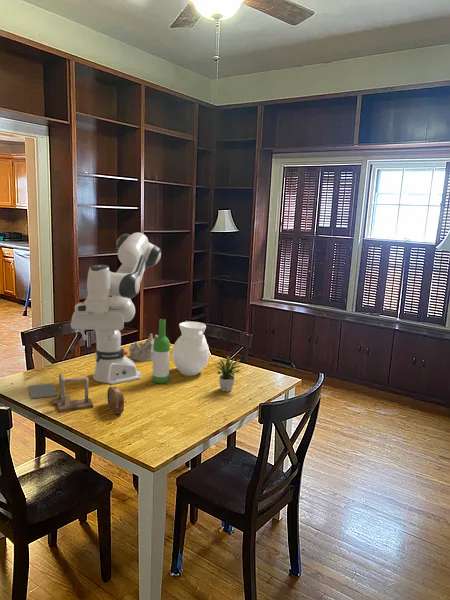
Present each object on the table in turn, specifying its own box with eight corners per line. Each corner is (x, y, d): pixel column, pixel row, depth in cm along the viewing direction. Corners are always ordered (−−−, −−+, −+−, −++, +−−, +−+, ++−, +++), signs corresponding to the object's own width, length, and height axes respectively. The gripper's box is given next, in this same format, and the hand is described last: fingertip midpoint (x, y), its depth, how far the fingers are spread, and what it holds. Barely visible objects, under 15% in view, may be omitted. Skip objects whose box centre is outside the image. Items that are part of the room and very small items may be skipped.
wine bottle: (171, 380, 216) (174, 319, 211) (163, 385, 209) (165, 322, 204) (158, 376, 219) (159, 317, 214) (149, 381, 212) (150, 320, 207)
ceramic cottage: (165, 355, 253) (164, 329, 251) (149, 364, 239) (148, 336, 236) (142, 352, 260) (141, 326, 257) (125, 360, 245) (123, 334, 242)
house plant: (225, 399, 197) (228, 364, 194) (203, 390, 206) (205, 356, 203) (246, 391, 208) (249, 357, 204) (224, 382, 217) (226, 350, 214)
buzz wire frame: (87, 396, 192) (87, 369, 190) (93, 407, 182) (93, 379, 179) (51, 400, 186) (51, 373, 183) (55, 412, 175) (54, 383, 173)
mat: (53, 384, 203) (53, 383, 203) (56, 396, 191) (56, 394, 191) (28, 386, 198) (28, 385, 198) (31, 399, 186) (31, 397, 186)
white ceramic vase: (215, 375, 226) (217, 327, 222) (183, 381, 216) (185, 330, 211) (196, 364, 241) (198, 318, 237) (165, 369, 231) (167, 321, 226)
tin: (106, 402, 187) (106, 383, 185) (114, 401, 189) (114, 382, 187) (117, 417, 174) (117, 397, 173) (125, 416, 176) (125, 396, 174)
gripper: (125, 305, 183) (124, 338, 185) (72, 304, 179) (72, 337, 181) (125, 308, 177) (124, 342, 179) (70, 306, 173) (70, 341, 175)
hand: (97, 340), depth 180 cm, fingers open, 8 cm apart
